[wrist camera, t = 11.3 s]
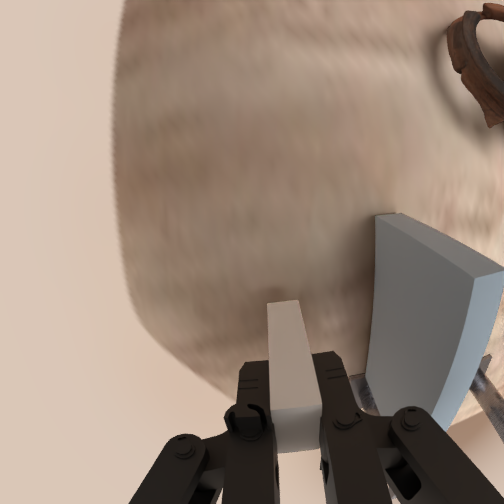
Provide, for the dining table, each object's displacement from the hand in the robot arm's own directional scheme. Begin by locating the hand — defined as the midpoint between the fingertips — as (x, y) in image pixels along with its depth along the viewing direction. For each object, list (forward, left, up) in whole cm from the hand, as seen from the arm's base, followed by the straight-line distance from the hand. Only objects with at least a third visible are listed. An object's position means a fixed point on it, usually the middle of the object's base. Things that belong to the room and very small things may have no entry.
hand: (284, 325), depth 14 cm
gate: (+2, +6, -2) cm, 7 cm away
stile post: (+11, +17, -2) cm, 21 cm away
